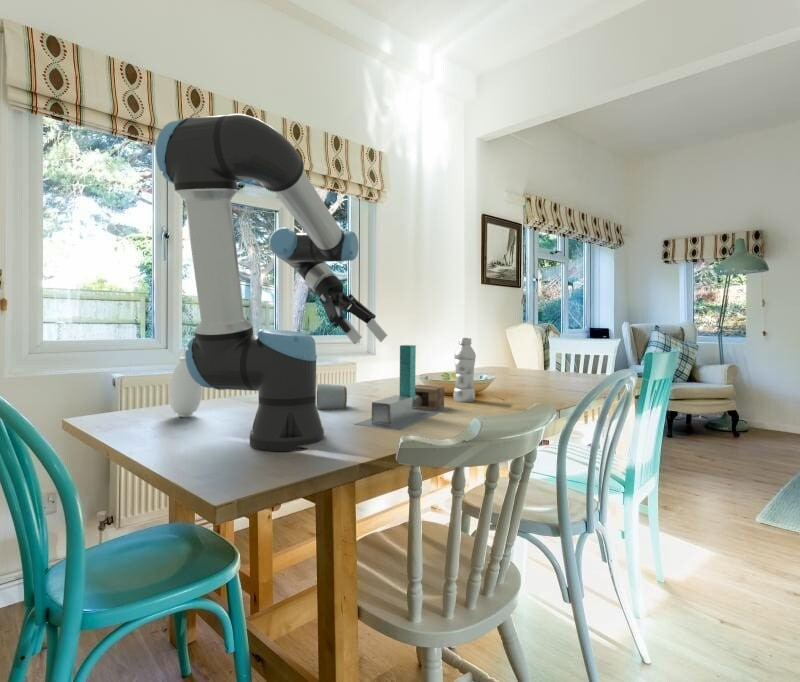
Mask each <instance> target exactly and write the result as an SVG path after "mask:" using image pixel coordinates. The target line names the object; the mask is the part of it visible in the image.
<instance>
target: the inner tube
mask: <svg viewBox="0 0 800 682" xmlns="http://www.w3.org/2000/svg"><path fill="white" fill-rule="evenodd" d="M416 346H417V345H415V344H414V345H412V344H401V345H399V396H408V397H412V409H413V408H416V407H418V406H420V405H421V404H422V398H421V397H420V396H418V395H416V396H415V386H416V363H417V362H416V359H417V357H416V354H417V353H416V350H417V349H416V348H417V347H416Z"/></svg>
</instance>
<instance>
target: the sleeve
mask: <svg viewBox="0 0 800 682" xmlns="http://www.w3.org/2000/svg"><path fill="white" fill-rule="evenodd" d="M371 418H372V424H374V425H382V426H392V425H394V424H397V423H399V422H402V421H404V420H407V419H409V418H412V397H408V396H400V395H396V394H395V395H392V396H388V397H386V398H382V399H378V400H375V401H372V402H371Z"/></svg>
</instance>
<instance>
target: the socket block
mask: <svg viewBox="0 0 800 682" xmlns="http://www.w3.org/2000/svg"><path fill="white" fill-rule="evenodd" d="M416 395H418V396H420V397H421V398H422V404H421V405H420V406H418V407H416V408H413V409H422V410H432V411H436V410H439V409H441V408H443V407H445V386H440V385H438V386H437V385H426V384H415V396H416Z"/></svg>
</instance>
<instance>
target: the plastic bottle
mask: <svg viewBox="0 0 800 682" xmlns="http://www.w3.org/2000/svg"><path fill="white" fill-rule="evenodd" d="M472 344H473V343H472V337H458V345H459V346H458V348H457V349H456V351H455V352H454V364H455V382H454V383H455V384H454V387H453V388H454V389H453V394H452V396H453V400H454V401H455V402H458V403H473V402H474V401H475V398H476V393H475V391H476V390H475V385H474V384H475V383H474V381H475V380H474V371H475V364H476V359H477V355H476V352H475V350H474V349H473V348H472Z"/></svg>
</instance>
